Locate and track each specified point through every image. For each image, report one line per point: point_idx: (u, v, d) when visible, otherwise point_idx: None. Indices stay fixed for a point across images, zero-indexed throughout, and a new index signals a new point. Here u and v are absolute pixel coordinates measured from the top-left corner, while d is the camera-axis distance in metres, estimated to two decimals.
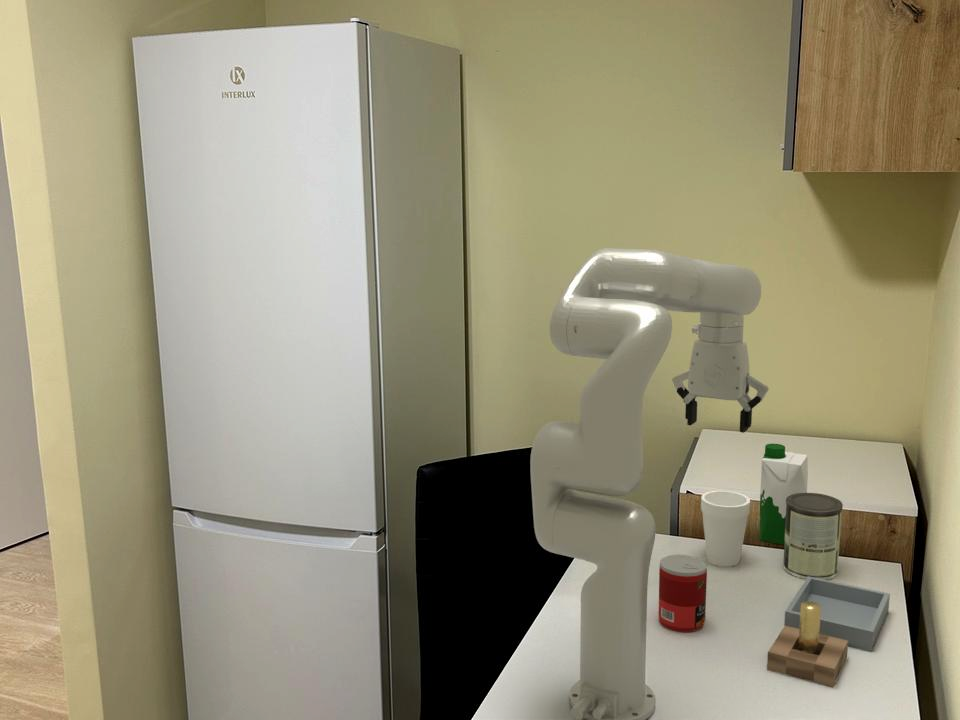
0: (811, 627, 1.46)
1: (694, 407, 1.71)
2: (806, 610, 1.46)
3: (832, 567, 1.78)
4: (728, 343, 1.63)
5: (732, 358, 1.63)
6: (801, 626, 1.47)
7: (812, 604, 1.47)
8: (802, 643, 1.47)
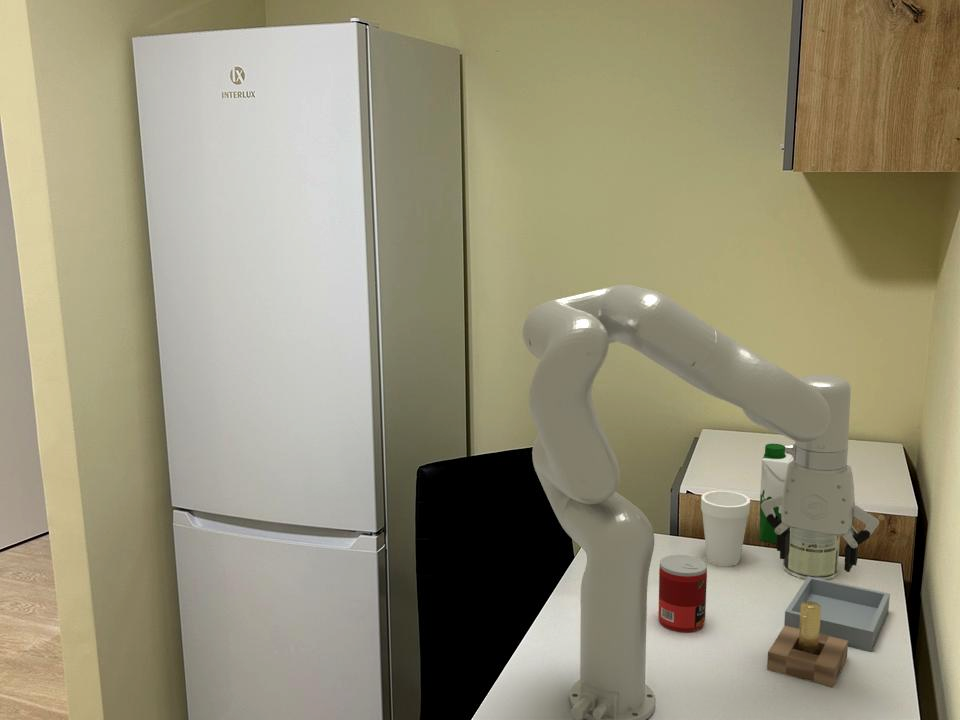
0: (811, 627, 1.46)
1: (787, 538, 1.47)
2: (806, 610, 1.46)
3: (832, 567, 1.78)
4: (832, 470, 1.38)
5: (836, 487, 1.39)
6: (801, 626, 1.47)
7: (812, 604, 1.47)
8: (802, 643, 1.47)
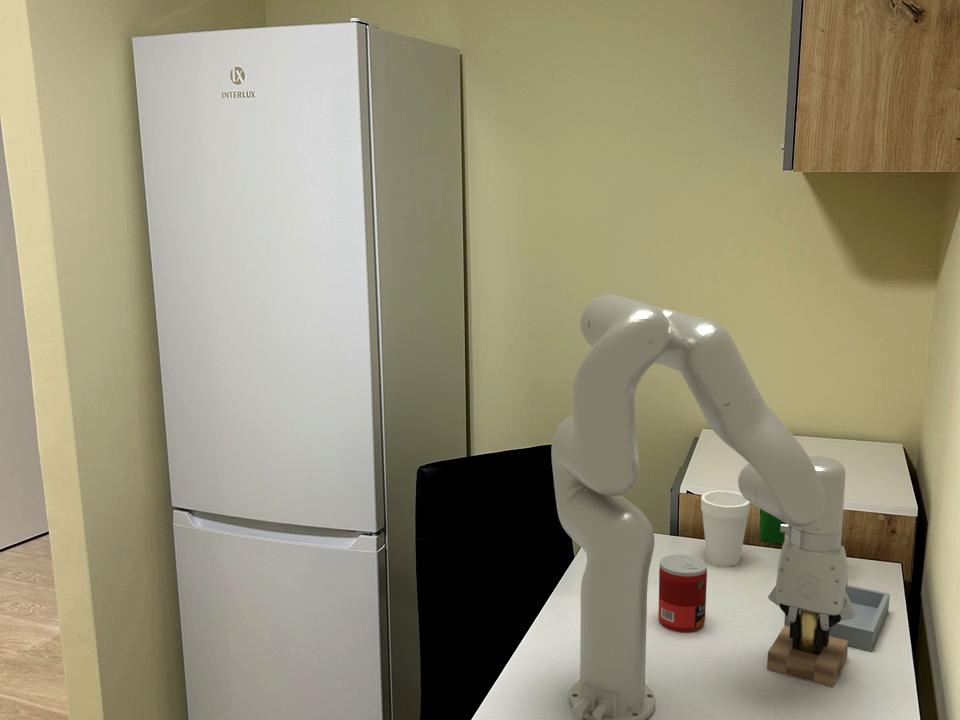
0: (811, 627, 1.46)
1: None
2: (806, 610, 1.46)
3: None
4: (826, 552, 1.41)
5: (830, 569, 1.41)
6: (801, 626, 1.47)
7: None
8: (802, 643, 1.47)
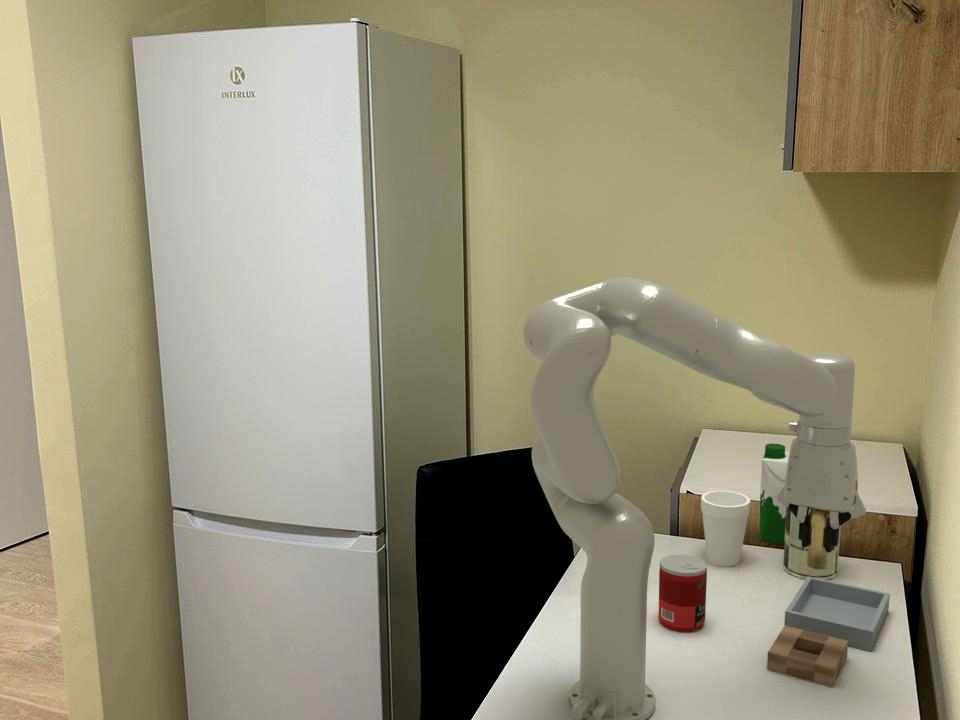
0: (821, 526, 1.44)
1: None
2: (815, 509, 1.43)
3: (832, 567, 1.78)
4: (835, 446, 1.39)
5: (839, 464, 1.39)
6: (810, 526, 1.45)
7: None
8: (812, 543, 1.45)
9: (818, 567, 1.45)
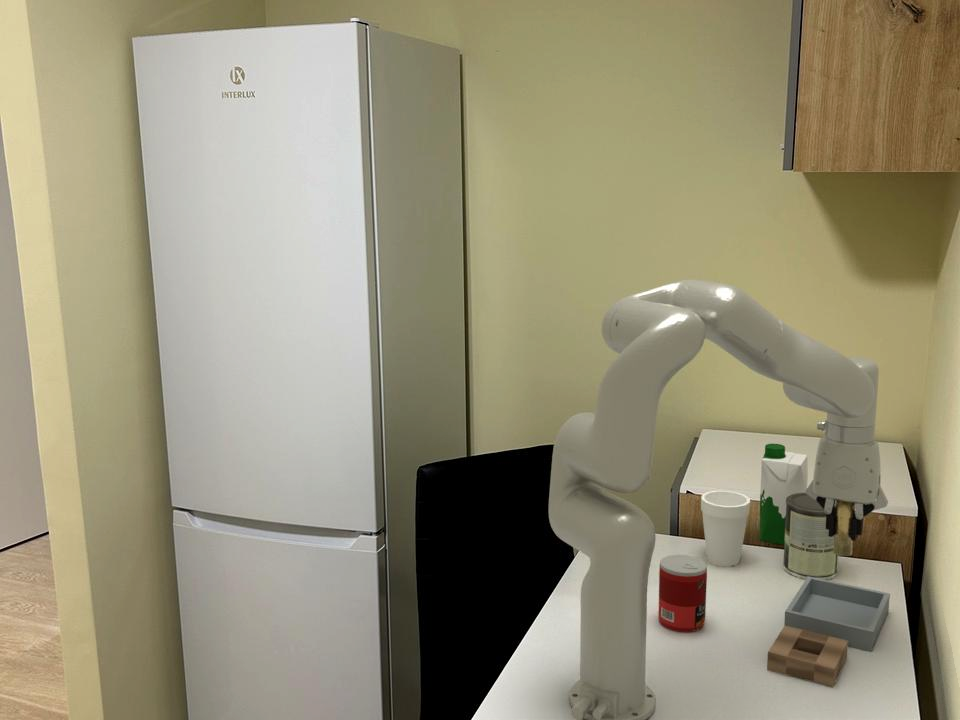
0: (846, 517, 1.57)
1: None
2: (841, 501, 1.57)
3: (832, 567, 1.78)
4: (860, 443, 1.52)
5: (864, 460, 1.52)
6: (837, 517, 1.58)
7: None
8: (838, 532, 1.58)
9: (844, 554, 1.58)
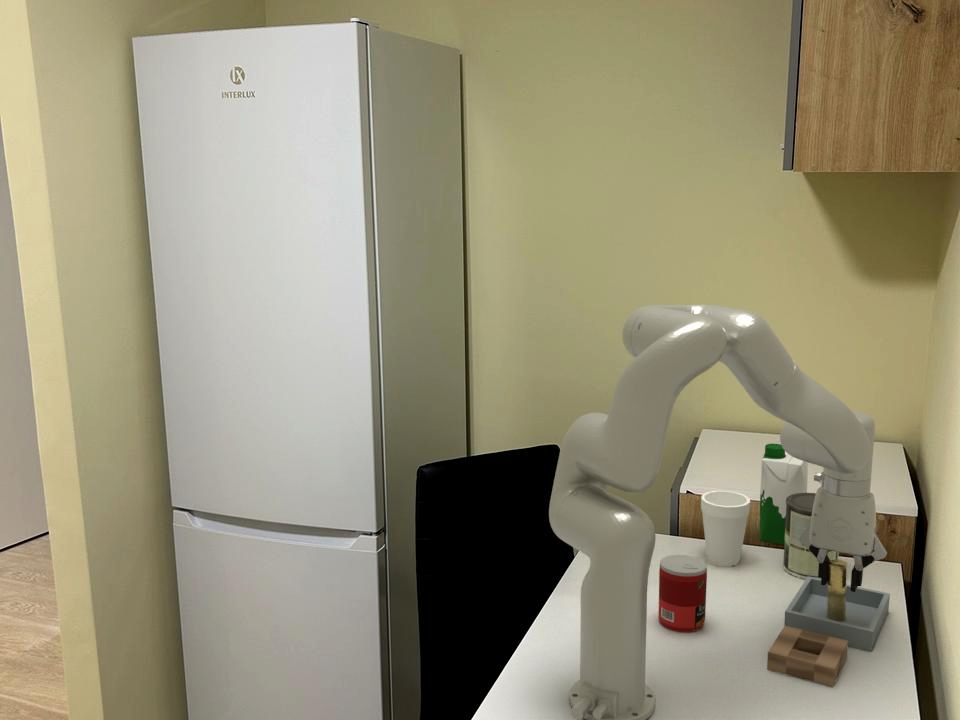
0: (838, 583, 1.59)
1: None
2: (833, 567, 1.59)
3: None
4: (857, 497, 1.54)
5: (860, 513, 1.54)
6: (829, 582, 1.60)
7: (838, 562, 1.60)
8: (831, 598, 1.60)
9: (838, 619, 1.60)
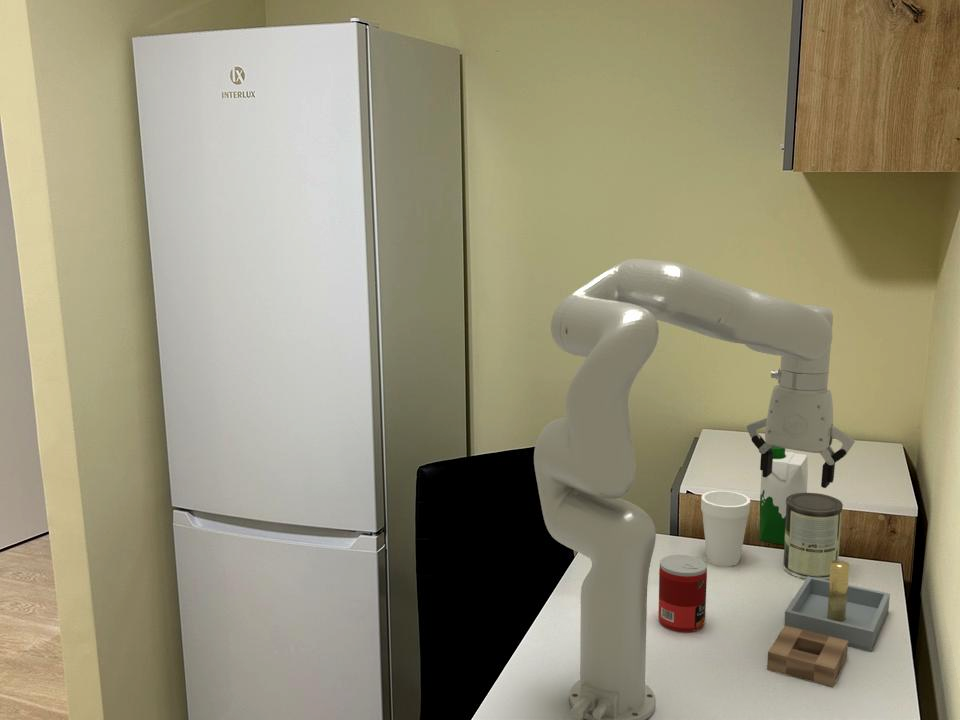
0: (840, 583, 1.59)
1: (770, 458, 1.58)
2: (835, 567, 1.59)
3: None
4: (812, 390, 1.50)
5: (816, 407, 1.50)
6: (831, 583, 1.60)
7: (841, 563, 1.60)
8: (832, 598, 1.60)
9: (838, 620, 1.60)
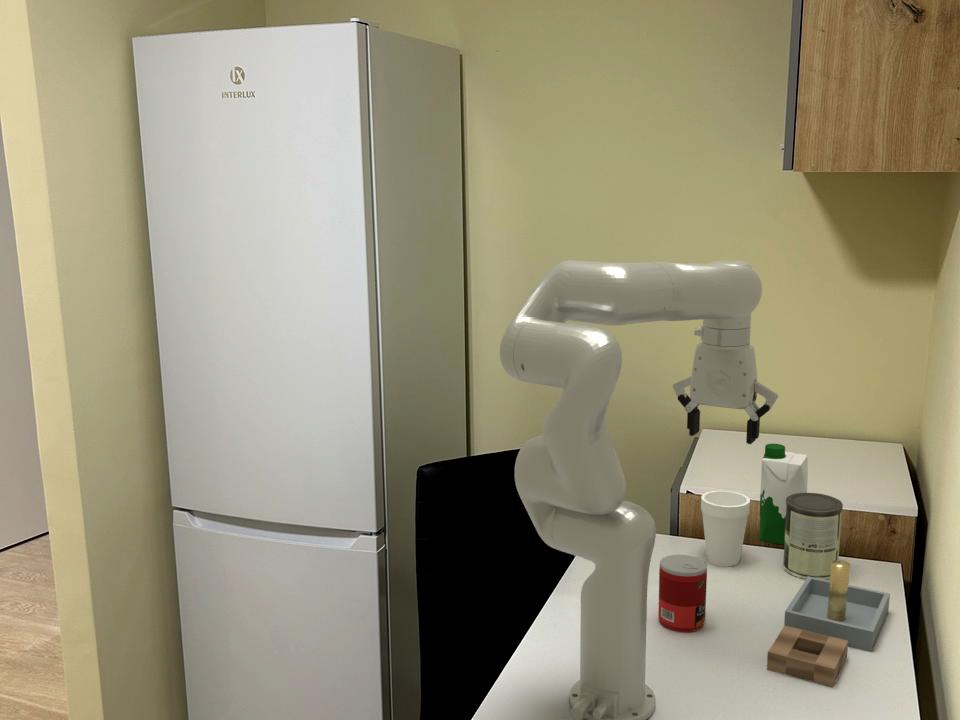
0: (841, 583, 1.59)
1: (697, 416, 1.57)
2: (836, 567, 1.59)
3: None
4: (734, 346, 1.49)
5: (738, 363, 1.49)
6: (831, 582, 1.60)
7: (841, 562, 1.60)
8: (832, 598, 1.60)
9: (838, 619, 1.60)
